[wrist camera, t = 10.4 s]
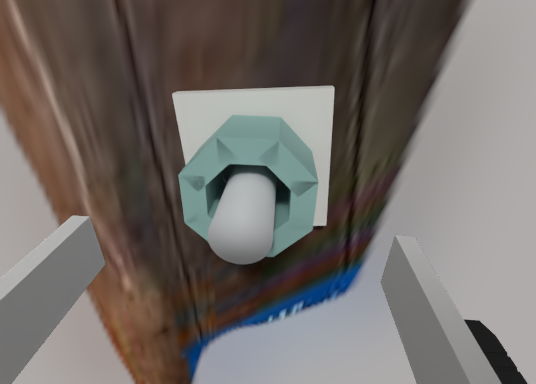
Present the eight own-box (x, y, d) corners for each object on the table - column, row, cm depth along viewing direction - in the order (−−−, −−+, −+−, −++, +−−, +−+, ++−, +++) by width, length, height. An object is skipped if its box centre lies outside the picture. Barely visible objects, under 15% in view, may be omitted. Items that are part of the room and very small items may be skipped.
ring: (256, 90, 19) (247, 106, 15) (332, 173, 21) (343, 208, 17) (181, 165, 22) (154, 198, 17) (255, 231, 24) (248, 274, 20)
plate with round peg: (176, 91, 21) (96, 132, 12) (332, 85, 20) (368, 124, 11) (200, 219, 26) (156, 313, 17) (324, 219, 25) (344, 317, 16)
